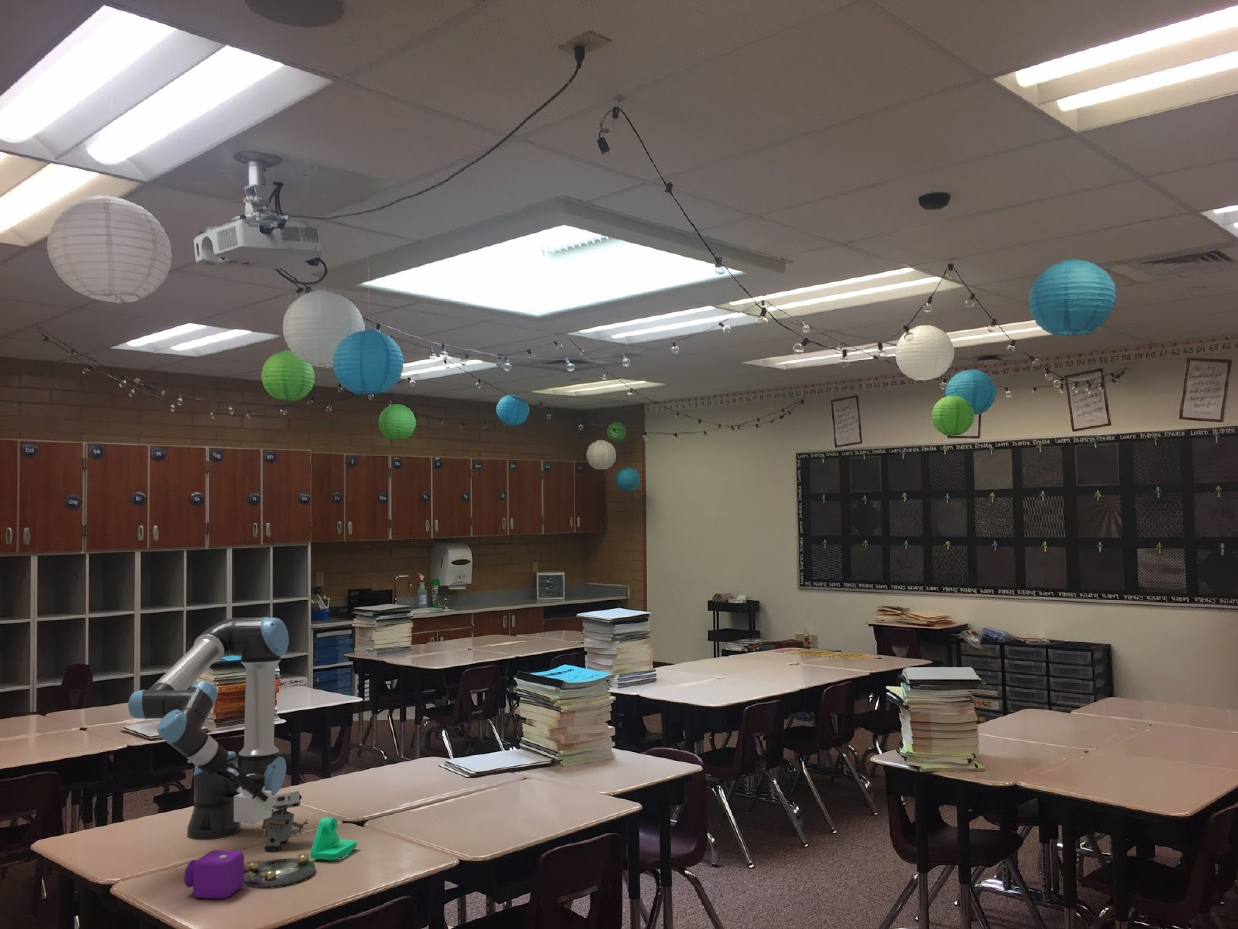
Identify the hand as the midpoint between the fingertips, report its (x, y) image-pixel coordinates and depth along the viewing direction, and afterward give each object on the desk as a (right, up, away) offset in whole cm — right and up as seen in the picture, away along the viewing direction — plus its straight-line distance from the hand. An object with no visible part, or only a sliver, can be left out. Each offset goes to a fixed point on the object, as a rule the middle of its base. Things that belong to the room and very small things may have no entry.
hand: (263, 802), depth 265 cm
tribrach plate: (+9, -14, -14) cm, 22 cm away
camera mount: (+19, -16, +2) cm, 25 cm away
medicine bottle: (-2, -4, -3) cm, 5 cm away
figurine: (+2, -17, +11) cm, 20 cm away
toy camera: (-3, -14, -26) cm, 29 cm away
